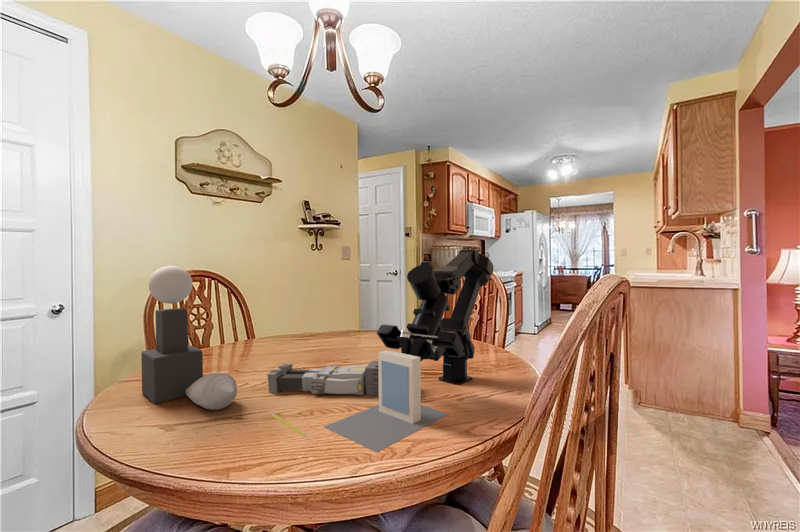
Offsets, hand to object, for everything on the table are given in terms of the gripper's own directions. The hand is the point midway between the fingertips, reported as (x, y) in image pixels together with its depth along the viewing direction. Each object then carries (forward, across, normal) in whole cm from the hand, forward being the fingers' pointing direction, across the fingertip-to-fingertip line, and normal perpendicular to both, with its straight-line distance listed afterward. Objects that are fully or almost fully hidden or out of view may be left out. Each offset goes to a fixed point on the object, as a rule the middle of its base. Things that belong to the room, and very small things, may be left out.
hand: (404, 375), depth 76 cm
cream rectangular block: (+7, 0, -4) cm, 8 cm away
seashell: (+18, +39, +6) cm, 43 cm away
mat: (+9, +1, -2) cm, 9 cm away
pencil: (+18, +15, +6) cm, 24 cm away
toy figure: (+3, +22, -9) cm, 23 cm away
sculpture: (+18, +53, +7) cm, 57 cm away
